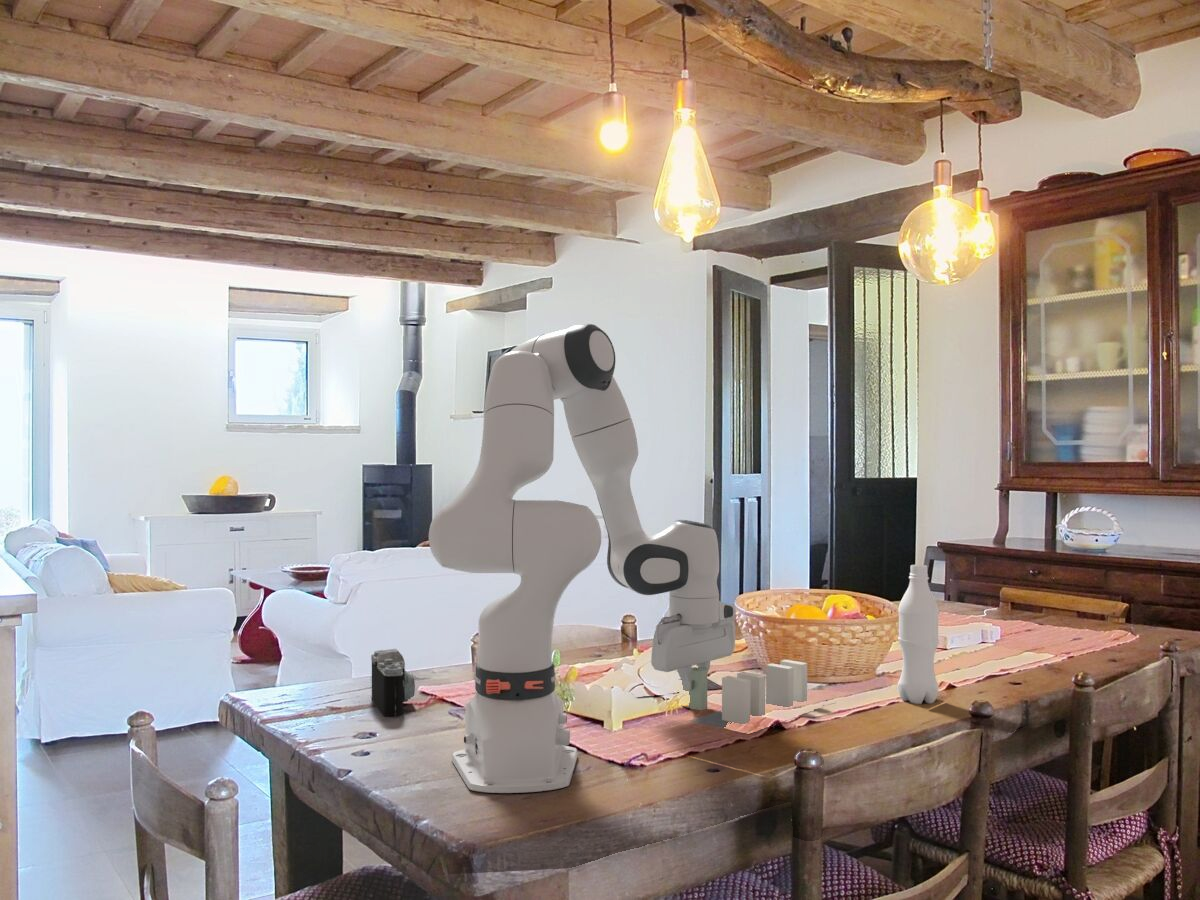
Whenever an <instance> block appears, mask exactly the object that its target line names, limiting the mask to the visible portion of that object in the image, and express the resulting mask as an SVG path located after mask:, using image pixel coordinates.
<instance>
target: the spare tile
mask: <svg viewBox="0 0 1200 900" xmlns="http://www.w3.org/2000/svg"><path fill="white" fill-rule="evenodd" d="M689 673H690V676H691V679H692V680H695V684H694V686H695V688H694V689H693V690H690V691H689V695H690V703H689V706H688V707H687V709H693V710H697V711H703V710H704V711H705V710H707V709H708V691H707V679H708V673H707V670H706V669H701V668H698V667H697V666H696V667H695V666H692V671H691V672H689Z"/></svg>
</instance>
